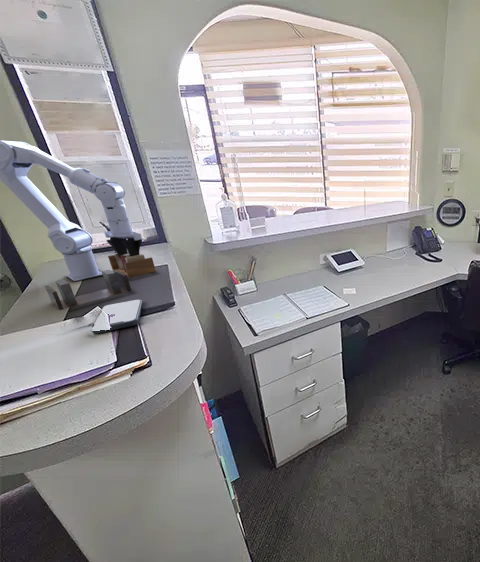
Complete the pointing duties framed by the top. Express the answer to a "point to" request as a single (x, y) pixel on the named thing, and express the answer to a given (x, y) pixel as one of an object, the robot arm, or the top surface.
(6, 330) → the top surface
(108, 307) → the phone case
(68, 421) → the top surface
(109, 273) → the grey book rack
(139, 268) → the wooden desk organizer
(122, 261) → the red boxy piece
